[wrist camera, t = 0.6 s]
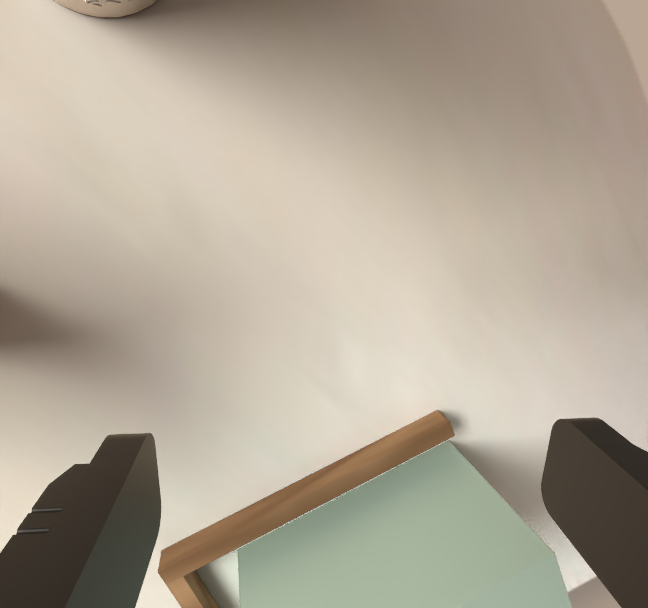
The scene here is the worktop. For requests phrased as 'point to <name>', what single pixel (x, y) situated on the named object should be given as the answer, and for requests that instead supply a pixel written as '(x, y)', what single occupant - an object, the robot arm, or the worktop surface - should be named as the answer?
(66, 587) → the robot arm
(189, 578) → the open frame
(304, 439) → the worktop surface
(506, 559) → the pale green rectangular block
